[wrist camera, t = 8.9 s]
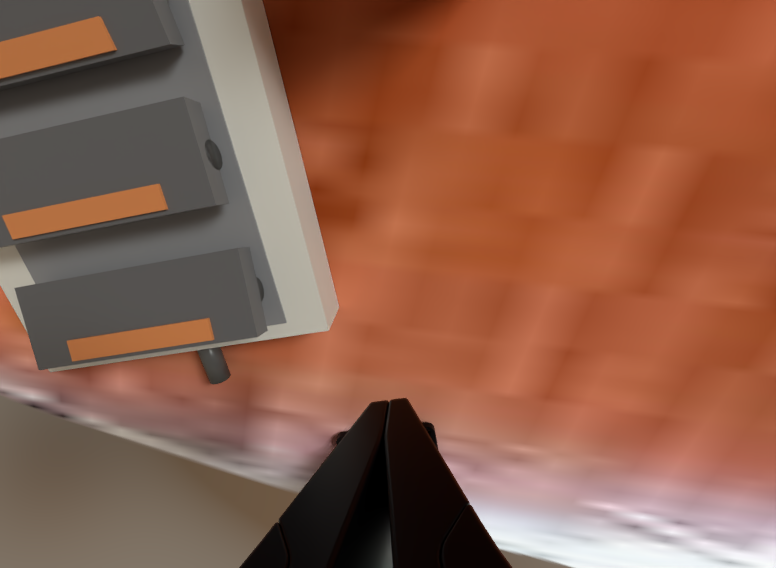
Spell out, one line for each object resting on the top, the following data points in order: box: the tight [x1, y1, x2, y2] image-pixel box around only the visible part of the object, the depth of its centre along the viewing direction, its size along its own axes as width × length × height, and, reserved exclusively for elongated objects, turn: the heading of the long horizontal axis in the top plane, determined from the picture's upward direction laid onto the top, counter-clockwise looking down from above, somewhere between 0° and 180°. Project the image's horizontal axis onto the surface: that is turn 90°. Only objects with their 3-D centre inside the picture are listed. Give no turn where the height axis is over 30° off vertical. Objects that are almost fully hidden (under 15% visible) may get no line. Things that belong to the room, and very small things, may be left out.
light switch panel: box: [0, 0, 339, 384], centre depth 18 cm, size 21×16×3 cm
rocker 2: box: [0, 96, 229, 248], centre depth 15 cm, size 4×11×2 cm, turn 101°
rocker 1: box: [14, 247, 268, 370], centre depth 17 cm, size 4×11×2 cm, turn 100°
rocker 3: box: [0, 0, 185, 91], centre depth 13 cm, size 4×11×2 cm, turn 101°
